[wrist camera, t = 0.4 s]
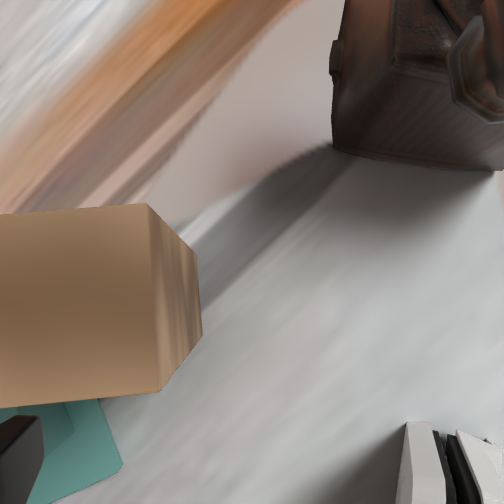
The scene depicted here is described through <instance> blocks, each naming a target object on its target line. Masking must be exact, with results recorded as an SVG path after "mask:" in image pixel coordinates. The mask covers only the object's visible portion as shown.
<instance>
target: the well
mask: <svg viewBox="0 0 504 504" xmlns="http://www.w3.org/2000/svg"><path fill="white" fill-rule="evenodd" d="M19 414H24V415H37V416H39V417H40V418H41V420H42V425H43V437H44V449H45V455H44V461H43V464H42V467H41V469H40V472H39V474H38V477H37V479H36V481H35V484H34V486H33V489H32V491H31V493H30V496H29V498H28V501H27V503H26V504H49V503H52V502H54V501H56V500H58V499H60V498H63V497H65V496H67V495H69V494H71V493H73V492H76V491H78V490H80V489H82V488H84V487H87V486H89V485H91V484H93V483H95V482H97V481H100V480H102V479H104V478H106V477H108V476H111V475H113V474H115V473H117V472H118V471H119V469H120V468H121V466H122V465H123V463H122V460H121V458H120V455H119V452H118V450H117V447H116V445H115V442H114V440H113V437H112V434H111V432H110V429H109V427H108V424H107V422H106V419H105V416H104V414H103V411H102V409H101V406H100V404H99V401H98V399H97V398H95V399H86V400H76V401H66V402H57V403H47V404H37V405H27V406H18V407H8V408H0V424H1V423H2V422H4V421H6V420H7V419H9V418H11V417H13V416H15V415H19Z"/></svg>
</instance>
